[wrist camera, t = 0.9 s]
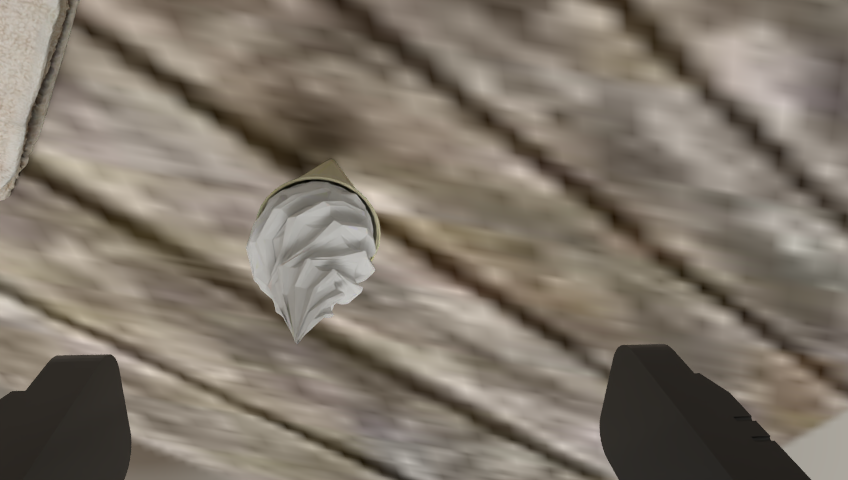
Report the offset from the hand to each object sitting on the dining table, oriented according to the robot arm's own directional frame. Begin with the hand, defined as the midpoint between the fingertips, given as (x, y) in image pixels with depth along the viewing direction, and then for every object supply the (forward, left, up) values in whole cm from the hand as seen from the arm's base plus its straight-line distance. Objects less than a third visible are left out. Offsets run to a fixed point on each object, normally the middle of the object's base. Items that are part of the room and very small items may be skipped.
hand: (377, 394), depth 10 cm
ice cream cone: (+5, 0, -22) cm, 23 cm away
